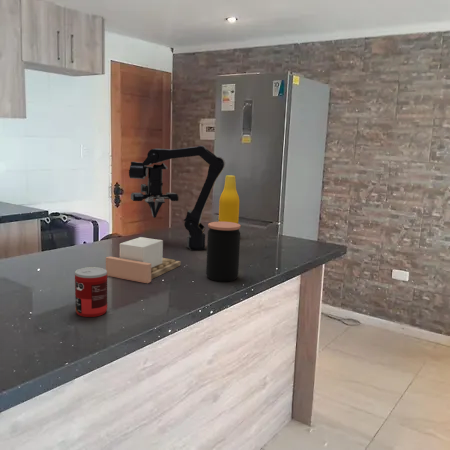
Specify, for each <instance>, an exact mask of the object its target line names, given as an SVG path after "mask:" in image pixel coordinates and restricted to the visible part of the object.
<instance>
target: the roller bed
mask: <svg viewBox="0 0 450 450" xmlns="http://www.w3.org/2000/svg"><path fill="white" fill-rule="evenodd" d="M181 264H182V263H181V260H176V259H172V258H167V257H166V258H165V257H163V261H162V264H159V265H157V266H155V267H152V268H151V280H153V279H155V278H157V277H160V276H161V275H163V274H166V273H168V272H170V271H172V270H174V269H176V268H178V267H181Z"/></svg>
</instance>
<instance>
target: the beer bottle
mask: <svg viewBox="0 0 450 450" xmlns="http://www.w3.org/2000/svg"><path fill="white" fill-rule="evenodd" d="M236 181H237V180H236V175H225V179H224V187H223V191H222V192H221V194H220V196H219V201H218V202H219V203H218V222H233V223H237V224H239V216H240V196H239V194H238V191H237V184H236Z"/></svg>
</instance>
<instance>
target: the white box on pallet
mask: <svg viewBox="0 0 450 450" xmlns="http://www.w3.org/2000/svg"><path fill="white" fill-rule="evenodd" d="M163 248H164V240H162V239H156V238H155V239H154V238H148V237H143V236H139V237H137V238H133V239H130V240H126V241H124V242H121V243H119V258H122V259H128V260H134V261H140V262H146V263H151V268H152V267H155V266H157V265H159V264H162V261H163V258H164V256H163V253H164V251H163V250H164V249H163Z"/></svg>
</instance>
